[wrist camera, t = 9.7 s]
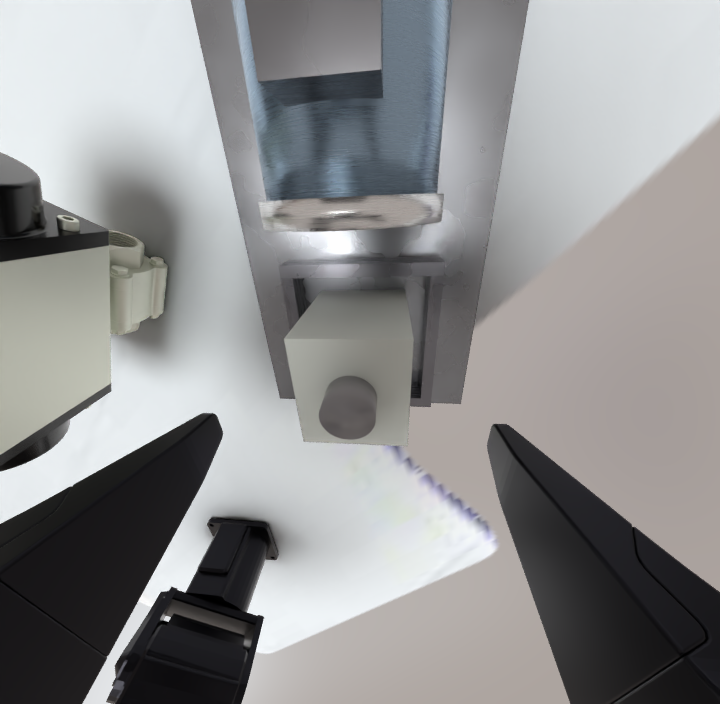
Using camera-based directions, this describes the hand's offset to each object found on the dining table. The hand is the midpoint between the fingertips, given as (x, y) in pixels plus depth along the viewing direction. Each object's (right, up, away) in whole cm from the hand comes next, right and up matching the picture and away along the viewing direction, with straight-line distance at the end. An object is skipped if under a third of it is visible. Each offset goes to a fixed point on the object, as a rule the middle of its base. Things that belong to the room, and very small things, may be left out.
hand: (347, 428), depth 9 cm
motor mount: (+1, +9, +5) cm, 10 cm away
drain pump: (+1, +4, +7) cm, 8 cm away
